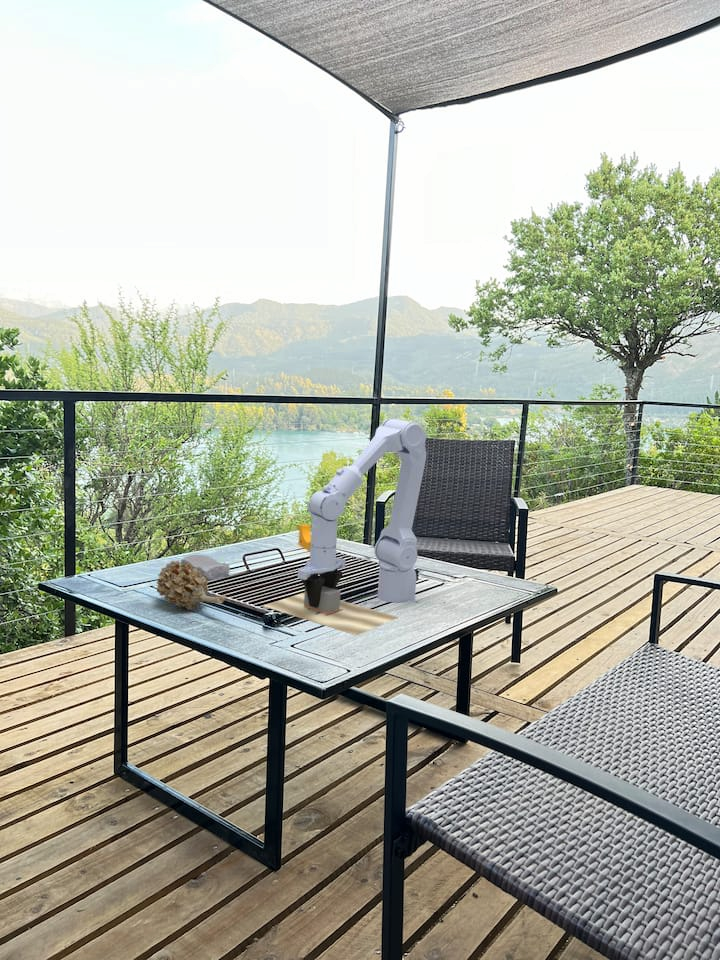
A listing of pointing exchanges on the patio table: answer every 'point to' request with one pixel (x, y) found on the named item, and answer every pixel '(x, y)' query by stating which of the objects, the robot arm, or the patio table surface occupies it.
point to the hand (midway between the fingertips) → (320, 604)
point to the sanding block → (326, 601)
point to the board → (334, 615)
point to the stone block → (207, 566)
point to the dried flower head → (184, 586)
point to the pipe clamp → (305, 536)
